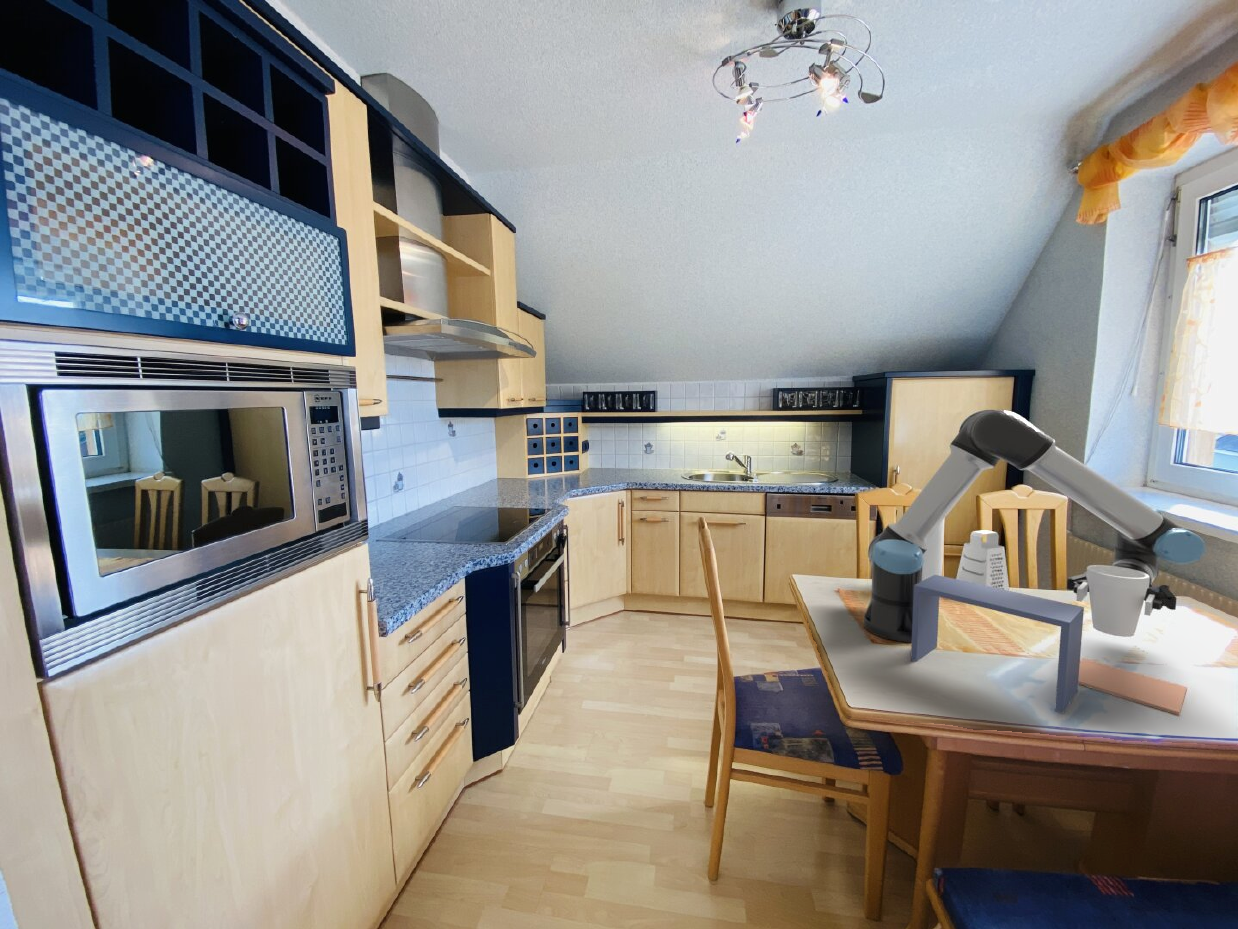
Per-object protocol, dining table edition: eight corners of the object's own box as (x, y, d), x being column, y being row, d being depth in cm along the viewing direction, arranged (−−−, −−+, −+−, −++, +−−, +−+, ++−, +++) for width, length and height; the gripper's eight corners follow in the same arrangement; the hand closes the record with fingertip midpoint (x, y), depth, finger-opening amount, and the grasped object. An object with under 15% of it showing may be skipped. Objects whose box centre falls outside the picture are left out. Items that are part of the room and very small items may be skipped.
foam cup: (1131, 643, 100) (1136, 581, 99) (1074, 626, 109) (1078, 569, 108) (1153, 634, 104) (1158, 574, 103) (1096, 618, 113) (1100, 562, 111)
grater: (1010, 596, 156) (1013, 534, 155) (985, 600, 153) (989, 537, 151) (977, 585, 166) (980, 527, 164) (953, 589, 163) (956, 529, 161)
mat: (1068, 680, 107) (1068, 678, 107) (1082, 660, 116) (1083, 658, 116) (1179, 715, 94) (1179, 712, 94) (1186, 689, 103) (1186, 687, 103)
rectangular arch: (910, 659, 117) (913, 585, 116) (931, 645, 125) (934, 574, 123) (1063, 713, 96) (1069, 622, 94) (1077, 691, 103) (1083, 607, 101)
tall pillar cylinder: (901, 583, 170) (904, 511, 168) (938, 587, 165) (941, 513, 163) (904, 593, 160) (907, 517, 158) (943, 597, 156) (947, 519, 153)
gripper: (1199, 607, 108) (1191, 636, 95) (1065, 582, 126) (1042, 604, 112) (1202, 573, 108) (1194, 598, 94) (1067, 553, 125) (1044, 571, 111)
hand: (1112, 601), depth 103 cm, fingers closed on foam cup, 9 cm apart
